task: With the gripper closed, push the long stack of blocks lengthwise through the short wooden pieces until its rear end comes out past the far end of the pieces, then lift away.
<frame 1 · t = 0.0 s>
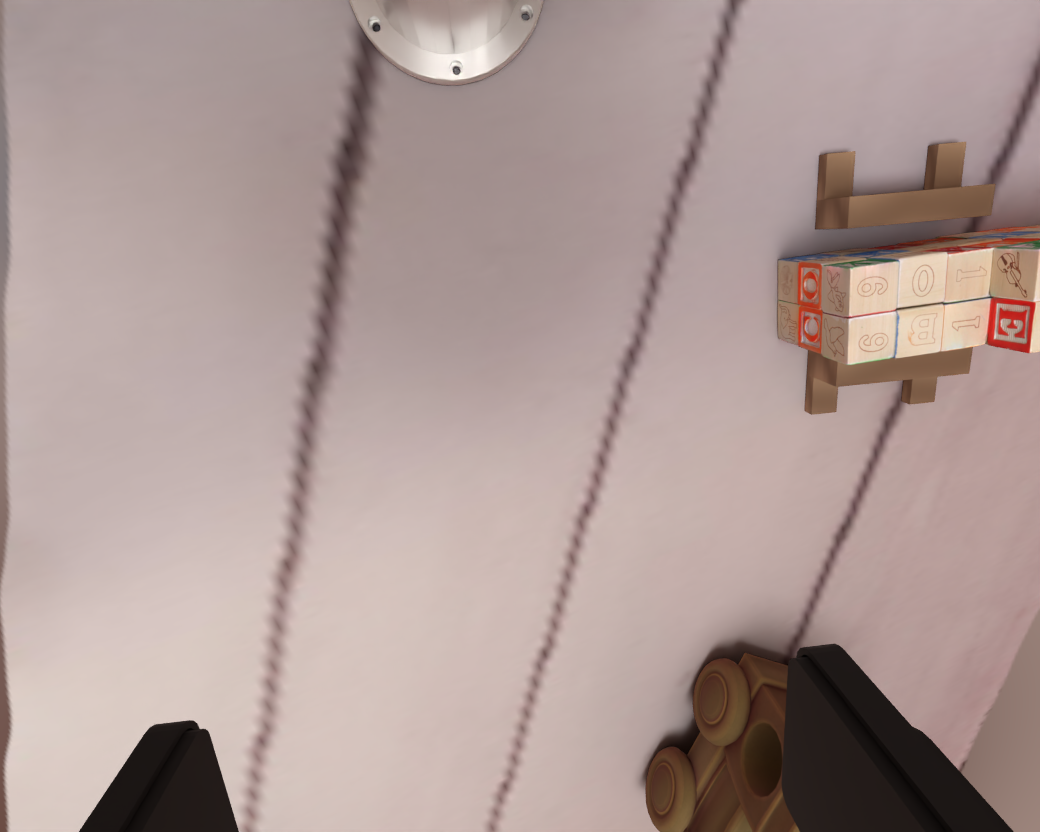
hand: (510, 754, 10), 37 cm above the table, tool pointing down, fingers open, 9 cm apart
stack of blocks: (910, 281, 46), on the table
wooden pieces: (875, 285, 45), on the table
wooden toy train: (724, 721, 57), on the table
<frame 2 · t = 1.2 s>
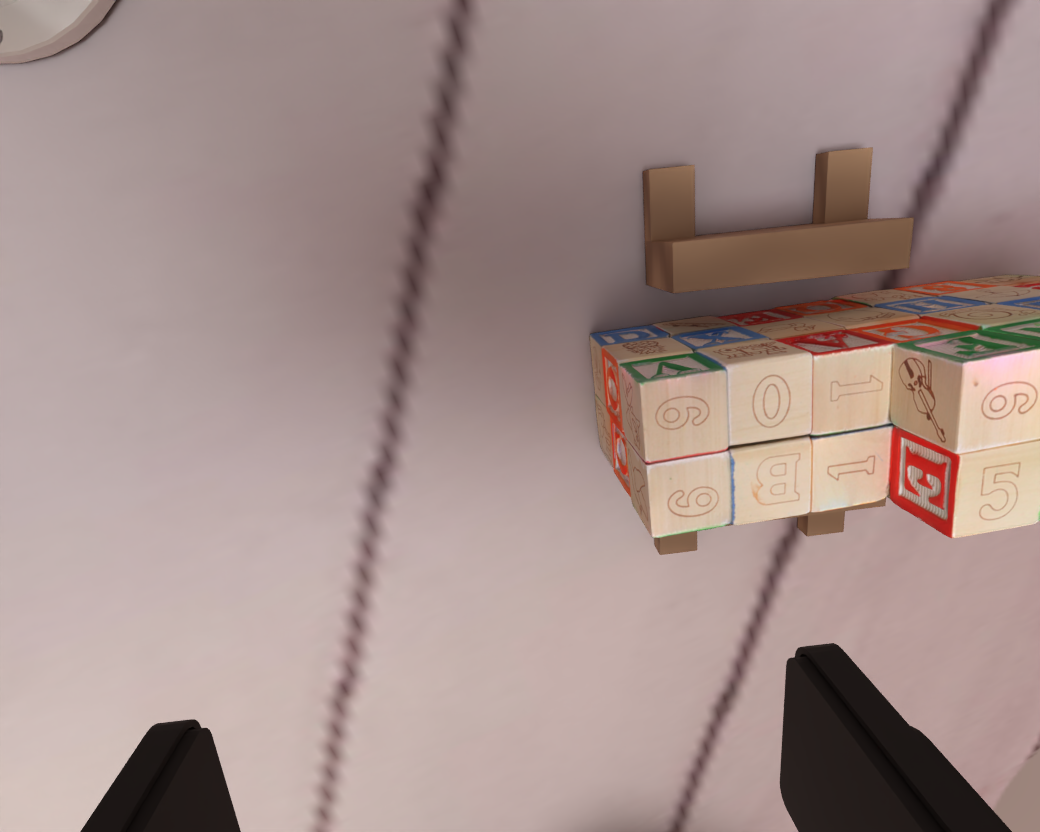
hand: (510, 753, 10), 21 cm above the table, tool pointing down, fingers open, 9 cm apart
stack of blocks: (798, 361, 30), on the table
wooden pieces: (747, 365, 30), on the table
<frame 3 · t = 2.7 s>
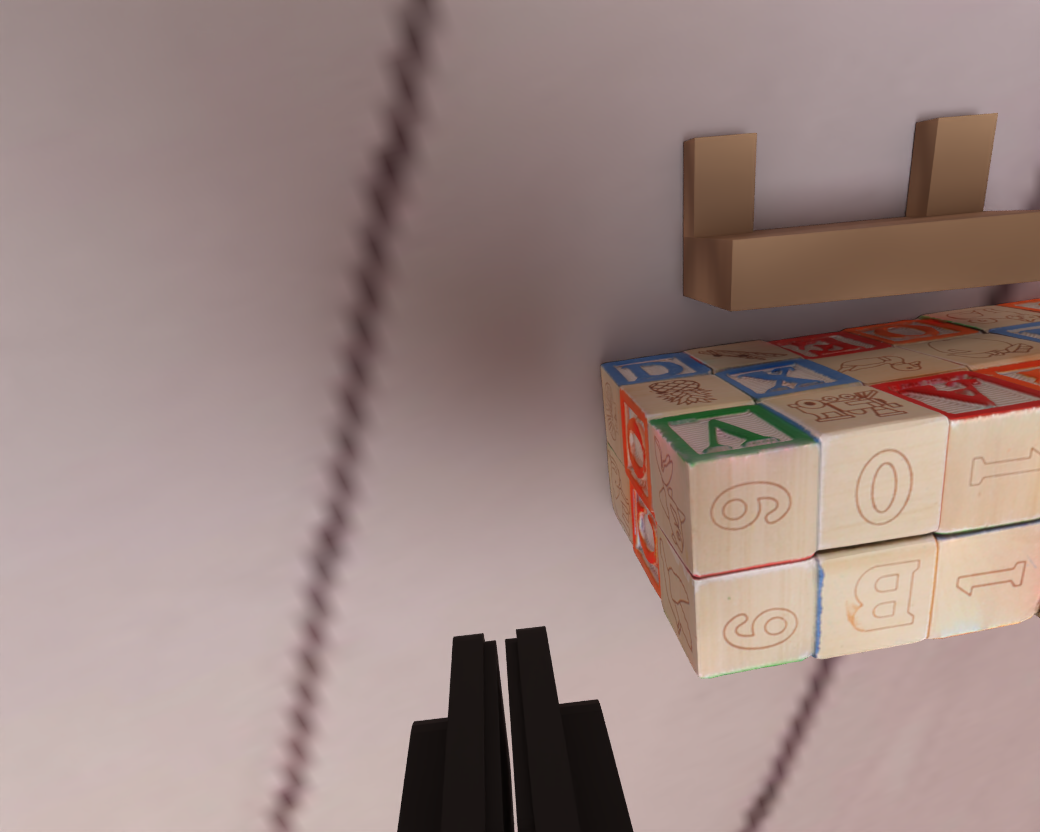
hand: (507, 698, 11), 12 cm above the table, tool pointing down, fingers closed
stack of blocks: (868, 398, 23), on the table
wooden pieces: (810, 401, 23), on the table
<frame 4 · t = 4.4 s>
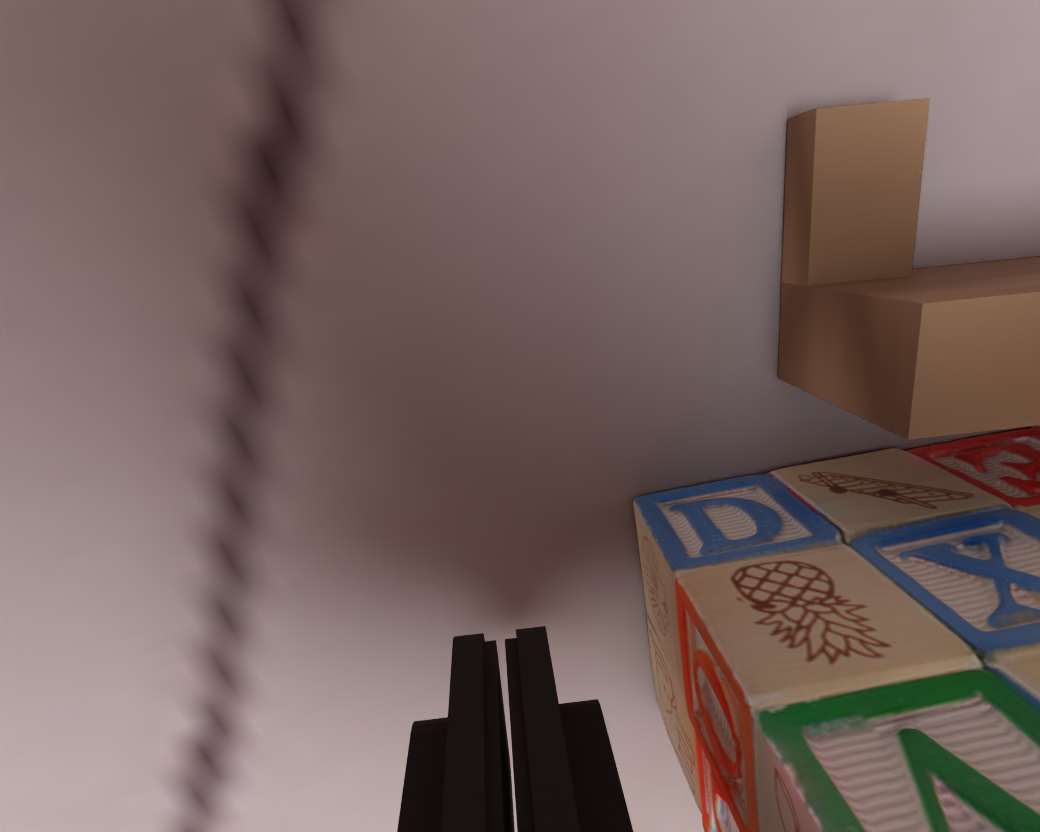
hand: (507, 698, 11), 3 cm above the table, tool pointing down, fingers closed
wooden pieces: (977, 540, 14), on the table
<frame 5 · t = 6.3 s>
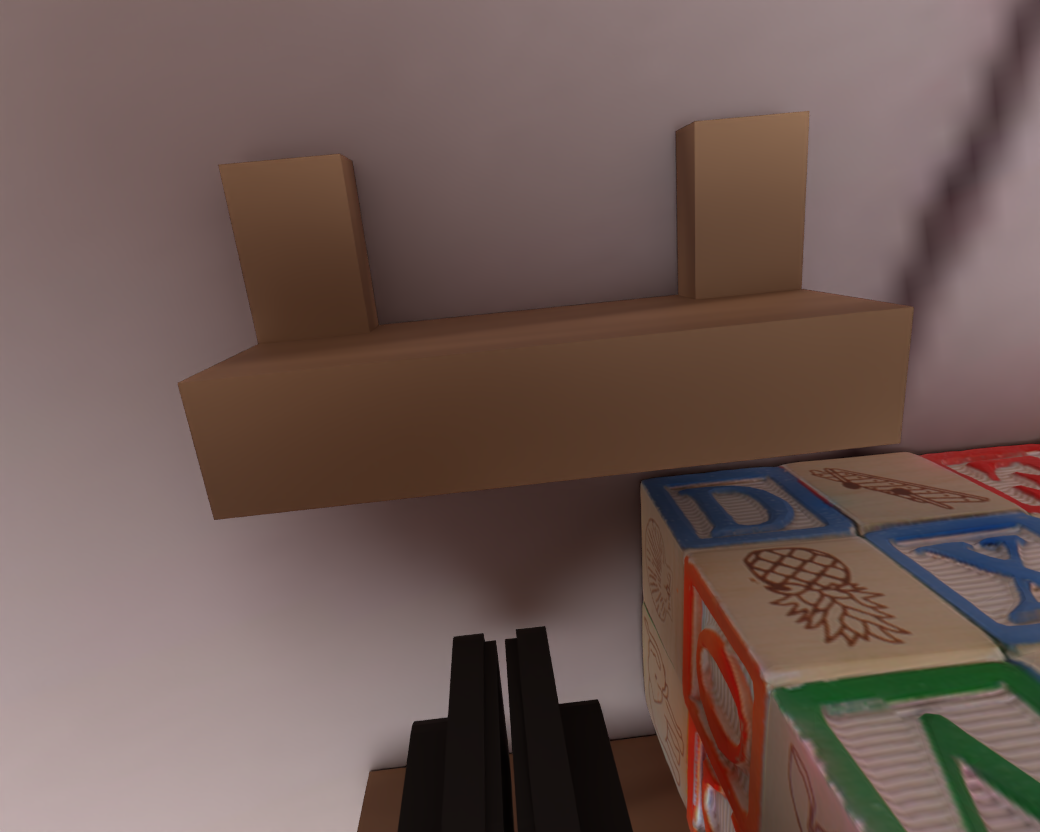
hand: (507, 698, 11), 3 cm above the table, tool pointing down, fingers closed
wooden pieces: (554, 592, 14), on the table
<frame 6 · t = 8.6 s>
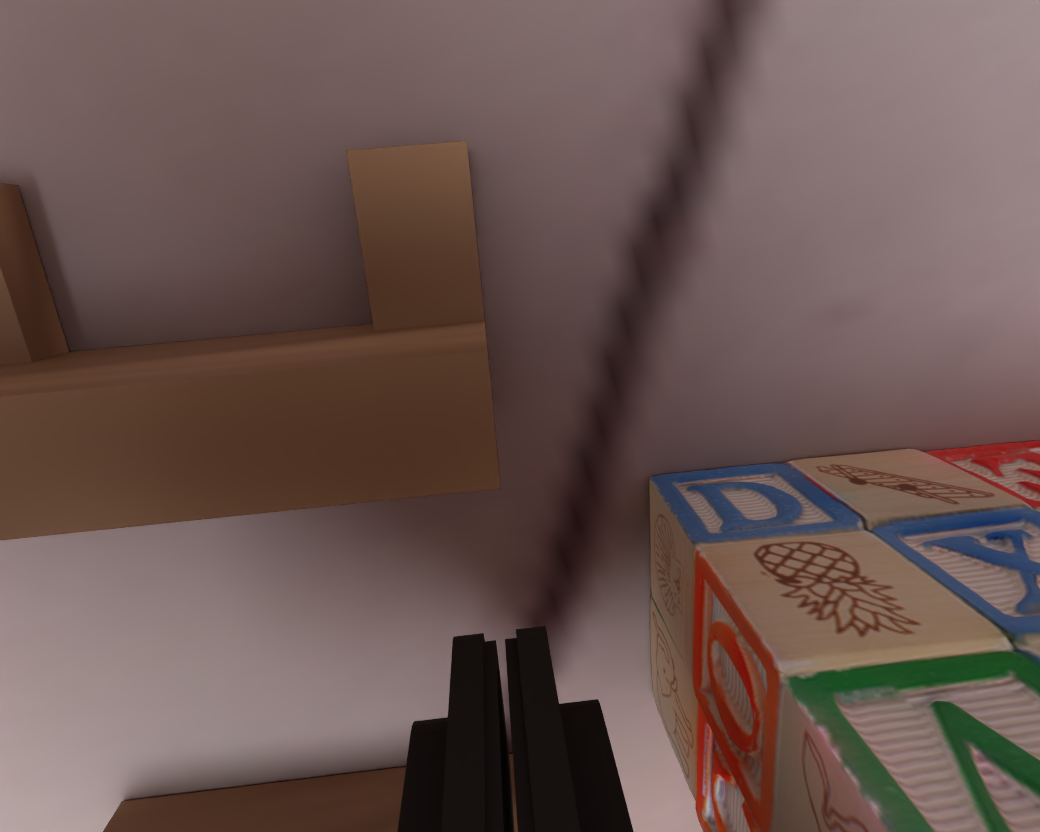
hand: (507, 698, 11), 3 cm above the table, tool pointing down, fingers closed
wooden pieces: (292, 622, 13), on the table
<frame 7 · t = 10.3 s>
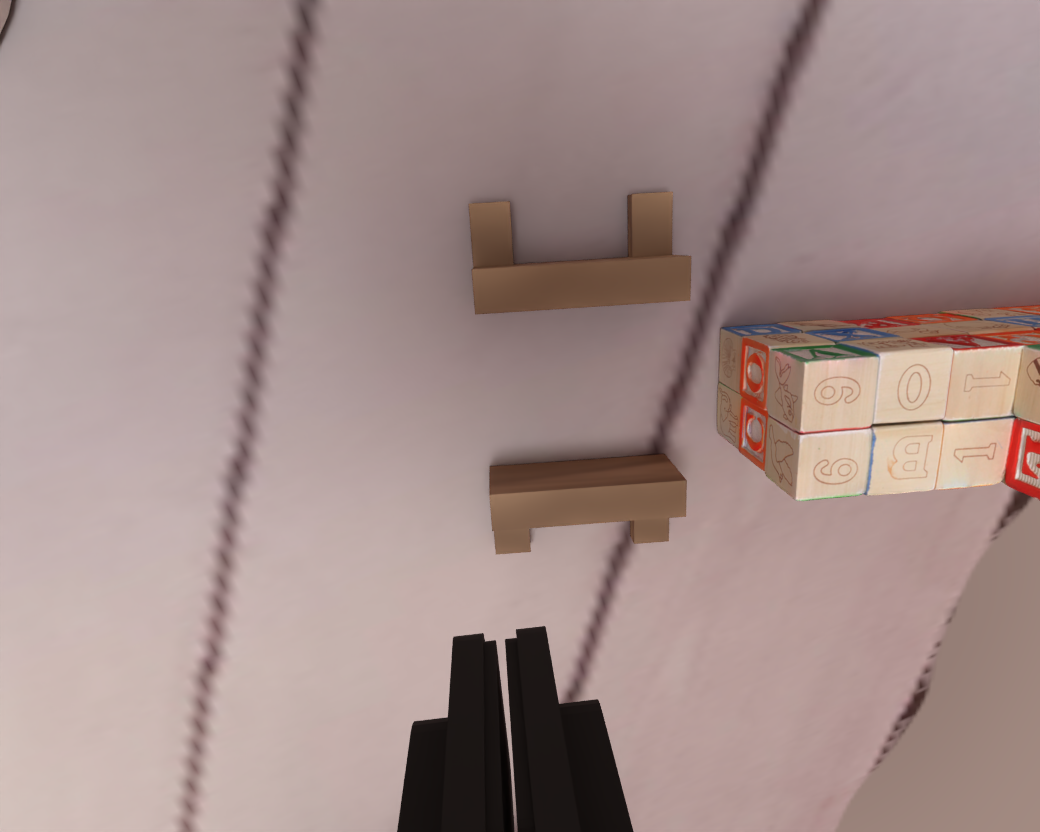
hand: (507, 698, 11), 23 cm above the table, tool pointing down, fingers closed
stack of blocks: (900, 368, 34), on the table
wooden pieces: (574, 383, 33), on the table
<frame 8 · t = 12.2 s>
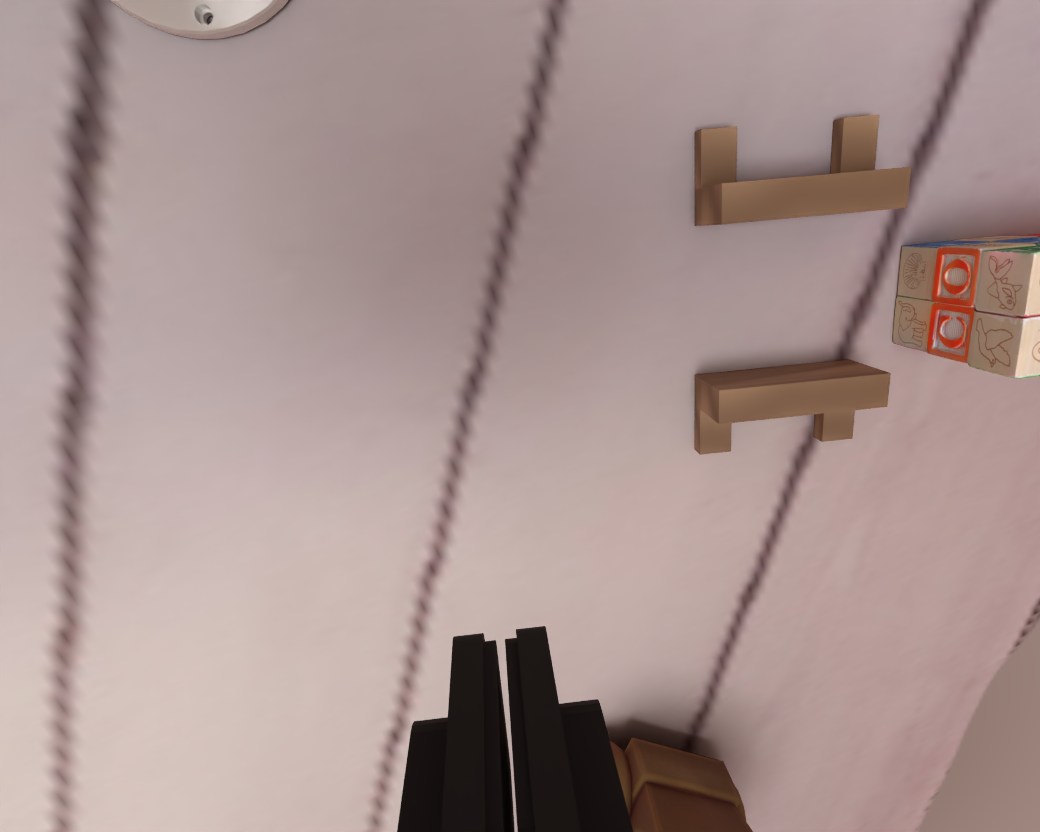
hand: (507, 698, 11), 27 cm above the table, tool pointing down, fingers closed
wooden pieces: (775, 295, 36), on the table
wooden toy train: (620, 809, 48), on the table
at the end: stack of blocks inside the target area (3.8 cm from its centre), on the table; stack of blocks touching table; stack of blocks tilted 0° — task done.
